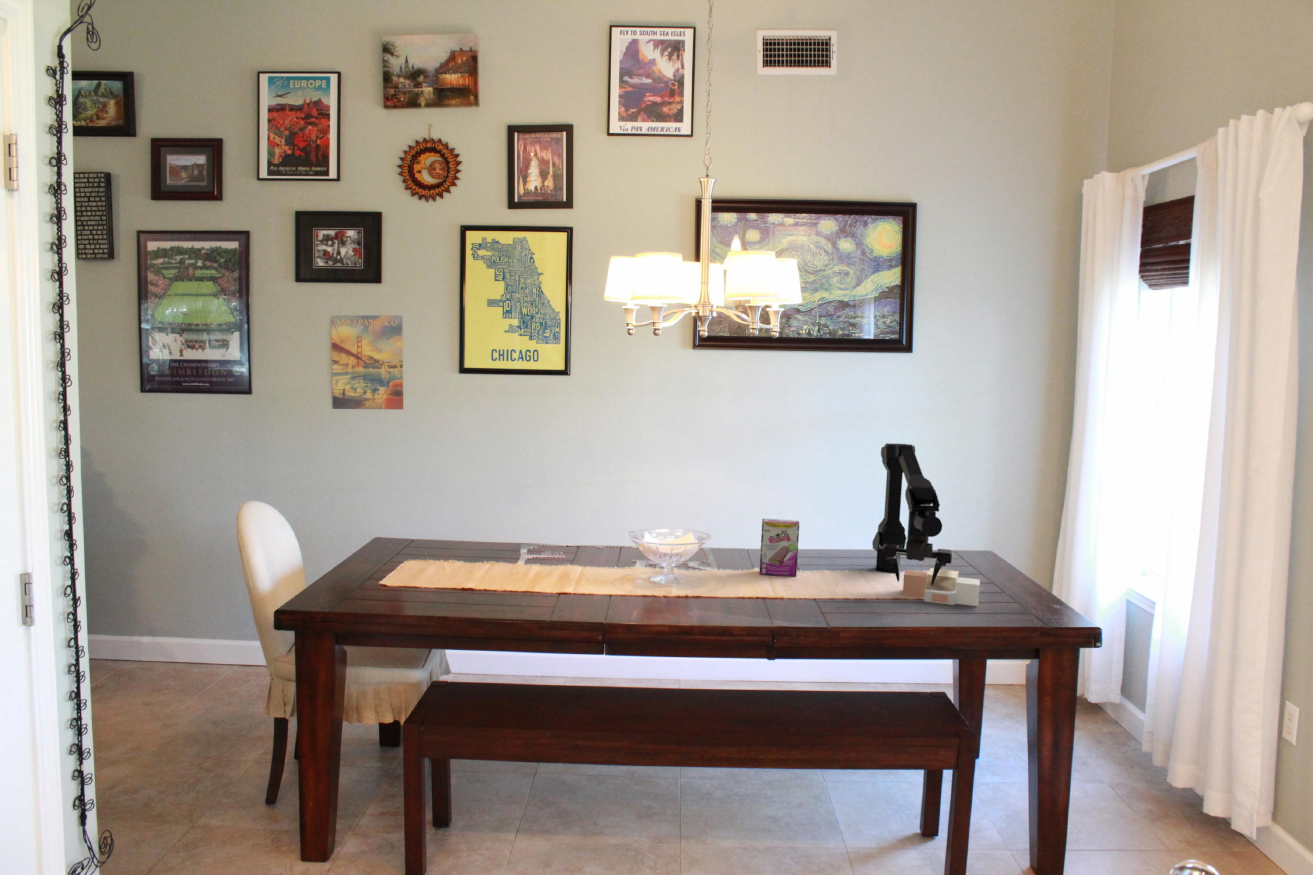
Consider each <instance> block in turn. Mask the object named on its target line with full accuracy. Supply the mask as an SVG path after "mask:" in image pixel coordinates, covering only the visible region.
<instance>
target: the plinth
mask: <svg viewBox="0 0 1313 875" xmlns="http://www.w3.org/2000/svg"><path fill="white" fill-rule="evenodd" d="M955 595H956V592H952V591H942V590H934V589H927V588H926V589H925V596H924V598H923V602H925V603H926V602H927V603H934V604H941V605H942V604H943V605H952V606H955V605H956V604H955Z"/></svg>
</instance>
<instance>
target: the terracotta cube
mask: <svg viewBox="0 0 1313 875" xmlns="http://www.w3.org/2000/svg"><path fill="white" fill-rule="evenodd" d="M927 574H928V571H921V570H920V571H919V570H913V569H912V570H911V569H905V570H904V574H903V583H902V584H903V585H902V587H903V588H902V596H905V597H906V596H907V597H913V598H922V599H924V596H925V589H927V588H928V587H927Z"/></svg>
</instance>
